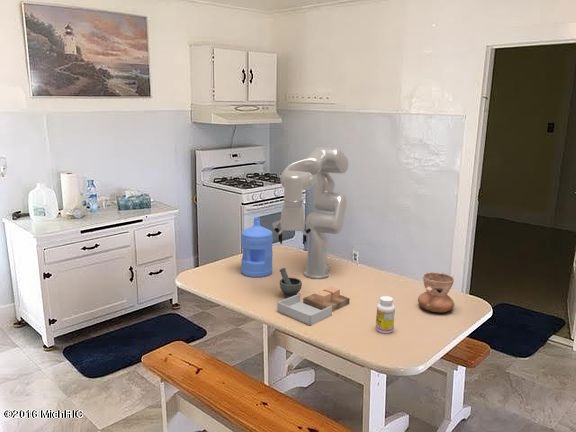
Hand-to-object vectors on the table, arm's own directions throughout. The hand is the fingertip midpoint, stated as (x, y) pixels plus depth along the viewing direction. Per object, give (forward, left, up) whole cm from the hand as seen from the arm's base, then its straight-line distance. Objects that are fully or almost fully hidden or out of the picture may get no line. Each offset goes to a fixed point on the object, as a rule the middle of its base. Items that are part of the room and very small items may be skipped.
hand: (292, 243), depth 207 cm
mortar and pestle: (-1, -3, -25) cm, 25 cm away
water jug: (-11, -35, -25) cm, 44 cm away
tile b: (-4, +14, -23) cm, 27 cm away
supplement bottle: (-3, +45, -25) cm, 52 cm away
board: (-6, +14, -25) cm, 30 cm away
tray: (+8, +14, -25) cm, 30 cm away
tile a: (-10, +14, -23) cm, 28 cm away
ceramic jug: (-36, +49, -25) cm, 66 cm away
